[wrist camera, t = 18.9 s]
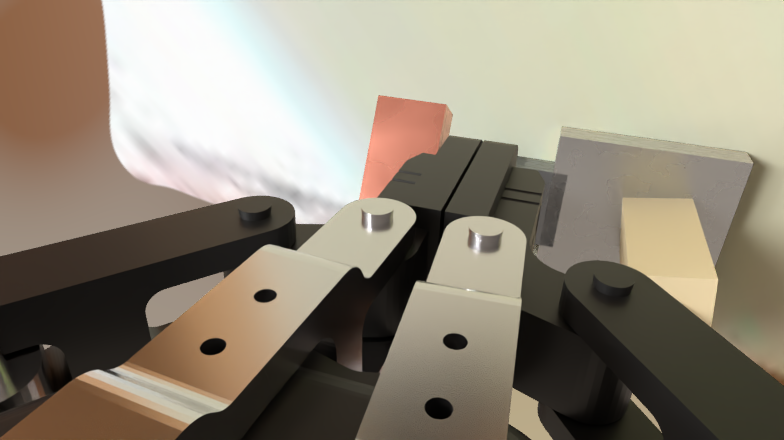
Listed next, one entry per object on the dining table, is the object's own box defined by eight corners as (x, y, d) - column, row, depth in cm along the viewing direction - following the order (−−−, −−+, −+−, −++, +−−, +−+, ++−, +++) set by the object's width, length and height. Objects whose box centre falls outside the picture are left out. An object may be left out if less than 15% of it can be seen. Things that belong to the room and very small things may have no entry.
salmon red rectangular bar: (453, 116, 27) (444, 102, 24) (394, 434, 27) (378, 455, 24) (391, 107, 28) (376, 93, 25) (333, 417, 28) (312, 436, 25)
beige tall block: (692, 198, 40) (727, 307, 29) (686, 255, 42) (715, 375, 31) (622, 197, 41) (630, 300, 31) (619, 252, 43) (626, 366, 32)
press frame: (746, 152, 39) (1192, 916, 10) (695, 292, 45) (881, 1044, 15) (485, 115, 43) (247, 576, 14) (468, 248, 49) (273, 776, 20)
